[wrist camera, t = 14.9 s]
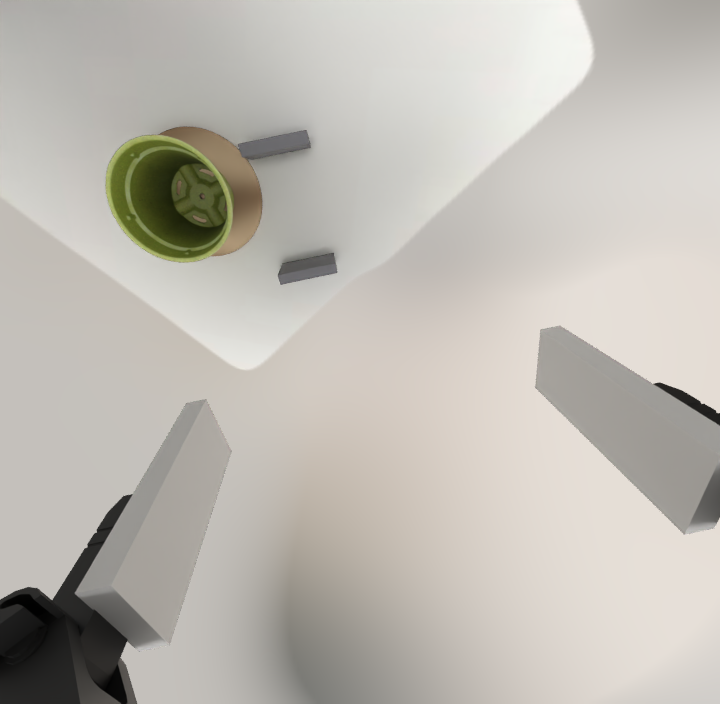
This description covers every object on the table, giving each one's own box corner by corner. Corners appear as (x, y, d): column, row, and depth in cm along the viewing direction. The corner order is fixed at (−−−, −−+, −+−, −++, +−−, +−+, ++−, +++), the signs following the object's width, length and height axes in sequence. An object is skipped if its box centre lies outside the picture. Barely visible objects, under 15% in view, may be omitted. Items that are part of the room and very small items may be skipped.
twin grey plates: (248, 148, 33) (237, 144, 29) (308, 135, 33) (306, 129, 29) (284, 272, 39) (280, 284, 35) (335, 261, 39) (337, 272, 35)
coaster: (114, 140, 32) (112, 140, 32) (238, 115, 32) (238, 114, 32) (171, 265, 38) (170, 266, 37) (276, 243, 38) (276, 244, 37)
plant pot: (242, 255, 38) (223, 276, 30) (150, 228, 35) (104, 243, 28) (258, 164, 34) (241, 162, 26) (156, 127, 31) (105, 113, 24)
